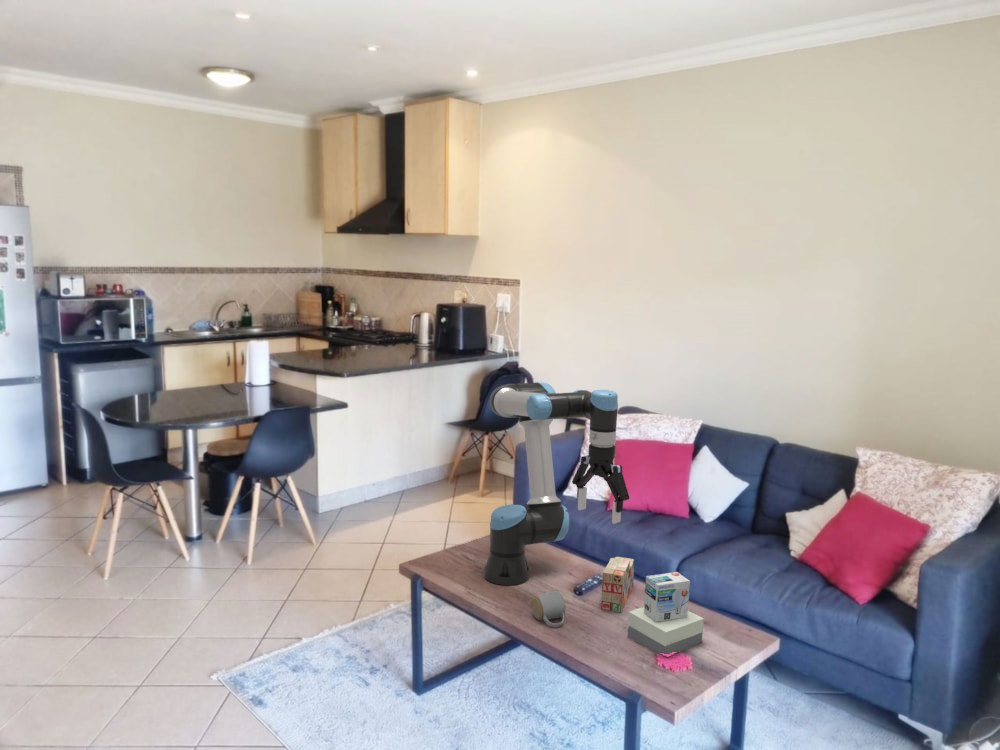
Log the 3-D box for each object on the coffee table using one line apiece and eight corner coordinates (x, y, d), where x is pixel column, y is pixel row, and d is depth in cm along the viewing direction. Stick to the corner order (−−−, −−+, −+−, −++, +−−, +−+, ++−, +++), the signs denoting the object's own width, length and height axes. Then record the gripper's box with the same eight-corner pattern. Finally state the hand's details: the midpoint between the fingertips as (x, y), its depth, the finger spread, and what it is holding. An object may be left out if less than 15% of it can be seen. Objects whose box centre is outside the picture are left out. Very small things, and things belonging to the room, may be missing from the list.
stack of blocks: (614, 582, 247) (616, 547, 245) (633, 586, 245) (635, 550, 243) (600, 610, 227) (602, 571, 225) (621, 613, 225) (623, 574, 223)
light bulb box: (655, 622, 204) (658, 585, 202) (642, 612, 210) (644, 575, 209) (688, 617, 208) (691, 580, 206) (674, 607, 214) (677, 571, 212)
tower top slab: (628, 625, 211) (628, 611, 210) (665, 612, 219) (665, 599, 219) (665, 646, 199) (666, 632, 199) (702, 632, 208) (703, 618, 207)
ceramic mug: (529, 614, 222) (530, 590, 221) (553, 609, 226) (554, 585, 225) (546, 631, 213) (547, 606, 212) (571, 625, 216) (572, 601, 215)
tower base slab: (627, 639, 210) (628, 626, 210) (662, 625, 220) (662, 612, 219) (666, 661, 200) (667, 647, 199) (701, 644, 209) (702, 631, 208)
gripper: (562, 437, 221) (559, 506, 224) (626, 455, 202) (622, 531, 205) (580, 434, 225) (577, 501, 229) (644, 451, 206) (640, 525, 210)
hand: (598, 515), depth 217 cm, fingers open, 13 cm apart
